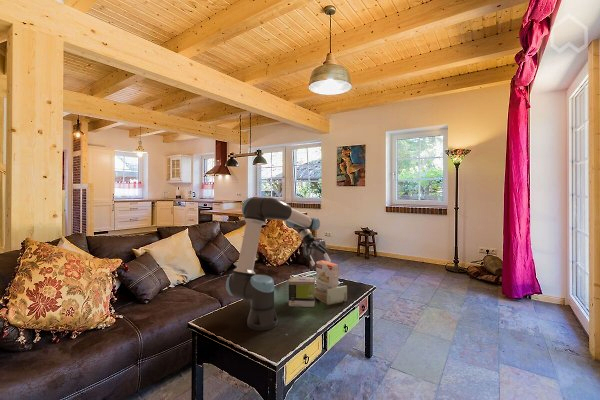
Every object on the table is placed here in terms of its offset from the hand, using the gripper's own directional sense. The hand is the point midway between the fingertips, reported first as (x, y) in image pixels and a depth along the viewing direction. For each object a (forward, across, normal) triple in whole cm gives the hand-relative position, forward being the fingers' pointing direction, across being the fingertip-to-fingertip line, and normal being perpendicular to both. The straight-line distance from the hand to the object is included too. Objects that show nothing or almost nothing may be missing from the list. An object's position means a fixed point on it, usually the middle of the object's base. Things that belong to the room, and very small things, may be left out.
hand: (321, 263), depth 188 cm
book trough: (+20, +1, -8) cm, 21 cm away
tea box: (+17, +19, -11) cm, 28 cm away
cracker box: (+18, +2, -9) cm, 20 cm away
